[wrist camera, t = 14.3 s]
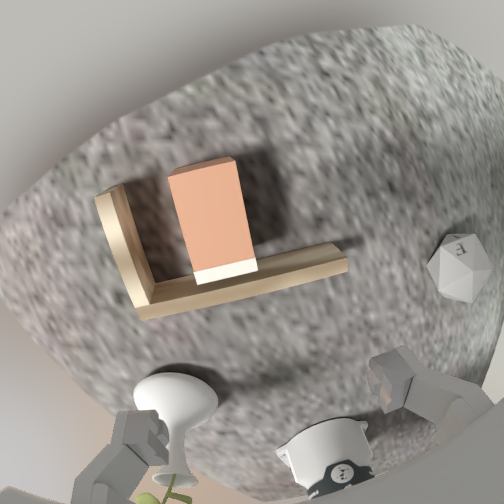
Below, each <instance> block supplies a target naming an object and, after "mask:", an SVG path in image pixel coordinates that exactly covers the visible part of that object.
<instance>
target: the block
mask: <svg viewBox="0 0 504 504" xmlns="http://www.w3.org/2000/svg"><path fill="white" fill-rule="evenodd" d="M168 180H169V184H170V188H171V192H172V195H173V199H174V203H175V207H176V211H177V214H178V218H179V221H180V225H181V229H182V232H183V236H184V239H185V243H186V246H187V250H188V253H189V256H190V260H191V263H192V266H193V270H194V276H195V279H196V282H197V285H199V284H204V283H208V282H212V281H217V280H221V279H225V278H230V277H234V276H238V275H242V274H246V273H251V272H255V271H258V268H257V263H256V258H255V255H254V251H253V246H252V241H251V236H250V231H249V227H248V222H247V217H246V212H245V207H244V202H243V197H242V192H241V187H240V182H239V177H238V172H237V167H236V162H235V160H234V159H232V158H231V157H230V156H228V157H223V158H219V159H214V160H210V161H205V162H201V163H197V164H193V165H189V166H185V167H181V168H177V169H174V171H173V172H172V173H171V174H170V175H169V176H168Z"/></svg>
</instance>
